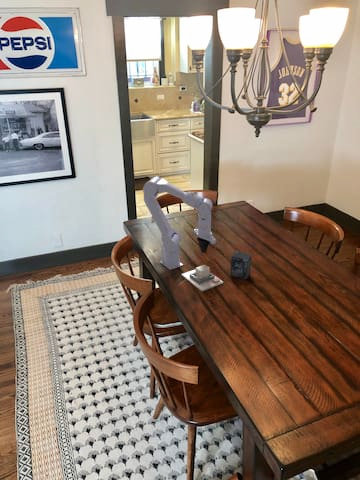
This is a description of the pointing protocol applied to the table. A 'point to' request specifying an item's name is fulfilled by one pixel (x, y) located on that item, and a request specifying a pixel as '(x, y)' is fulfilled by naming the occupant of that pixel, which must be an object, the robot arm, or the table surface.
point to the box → (240, 265)
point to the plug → (202, 271)
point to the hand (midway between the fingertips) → (203, 251)
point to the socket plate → (202, 280)
